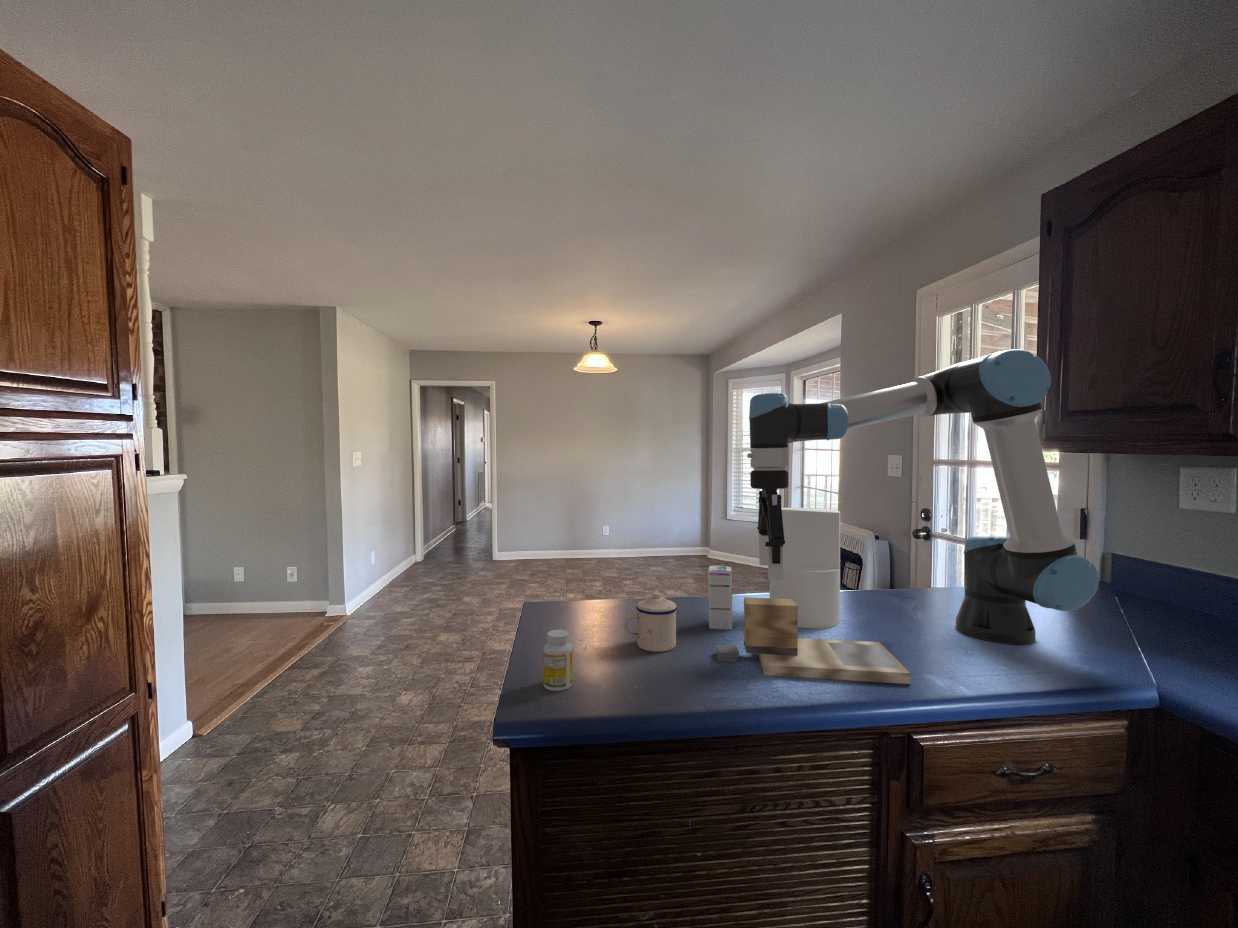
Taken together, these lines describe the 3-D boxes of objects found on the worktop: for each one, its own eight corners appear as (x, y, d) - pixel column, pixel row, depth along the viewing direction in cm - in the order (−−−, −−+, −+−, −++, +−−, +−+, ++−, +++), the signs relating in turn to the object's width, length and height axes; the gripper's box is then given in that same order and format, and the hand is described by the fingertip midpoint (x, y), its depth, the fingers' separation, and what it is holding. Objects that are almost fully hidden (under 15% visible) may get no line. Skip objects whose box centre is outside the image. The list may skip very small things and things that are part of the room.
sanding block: (792, 646, 105) (792, 599, 105) (797, 655, 100) (797, 605, 100) (744, 643, 107) (744, 597, 107) (746, 652, 102) (746, 603, 102)
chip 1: (735, 650, 107) (735, 645, 107) (739, 658, 103) (739, 652, 103) (716, 650, 107) (716, 644, 107) (719, 658, 103) (719, 652, 103)
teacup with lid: (668, 636, 117) (668, 586, 117) (683, 650, 109) (683, 596, 109) (618, 641, 114) (618, 590, 114) (630, 656, 105) (630, 601, 105)
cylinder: (781, 604, 143) (781, 506, 143) (846, 615, 133) (846, 509, 133) (760, 619, 129) (760, 511, 129) (830, 633, 119) (831, 515, 119)
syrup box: (732, 630, 121) (732, 570, 121) (707, 628, 123) (707, 569, 122) (732, 622, 127) (732, 565, 127) (708, 621, 128) (708, 564, 128)
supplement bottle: (557, 694, 88) (556, 640, 88) (537, 685, 92) (536, 633, 92) (578, 684, 92) (578, 632, 92) (558, 676, 96) (558, 626, 96)
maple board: (879, 651, 108) (879, 641, 108) (910, 683, 92) (910, 672, 92) (754, 644, 112) (754, 635, 112) (764, 674, 96) (764, 664, 96)
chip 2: (716, 650, 107) (716, 656, 107) (717, 657, 103) (717, 663, 103) (735, 651, 107) (735, 657, 107) (737, 658, 103) (737, 664, 103)
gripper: (744, 468, 116) (745, 559, 116) (757, 470, 92) (759, 586, 92) (778, 468, 115) (779, 560, 115) (800, 470, 90) (802, 587, 91)
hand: (770, 572), depth 104 cm, fingers open, 13 cm apart
